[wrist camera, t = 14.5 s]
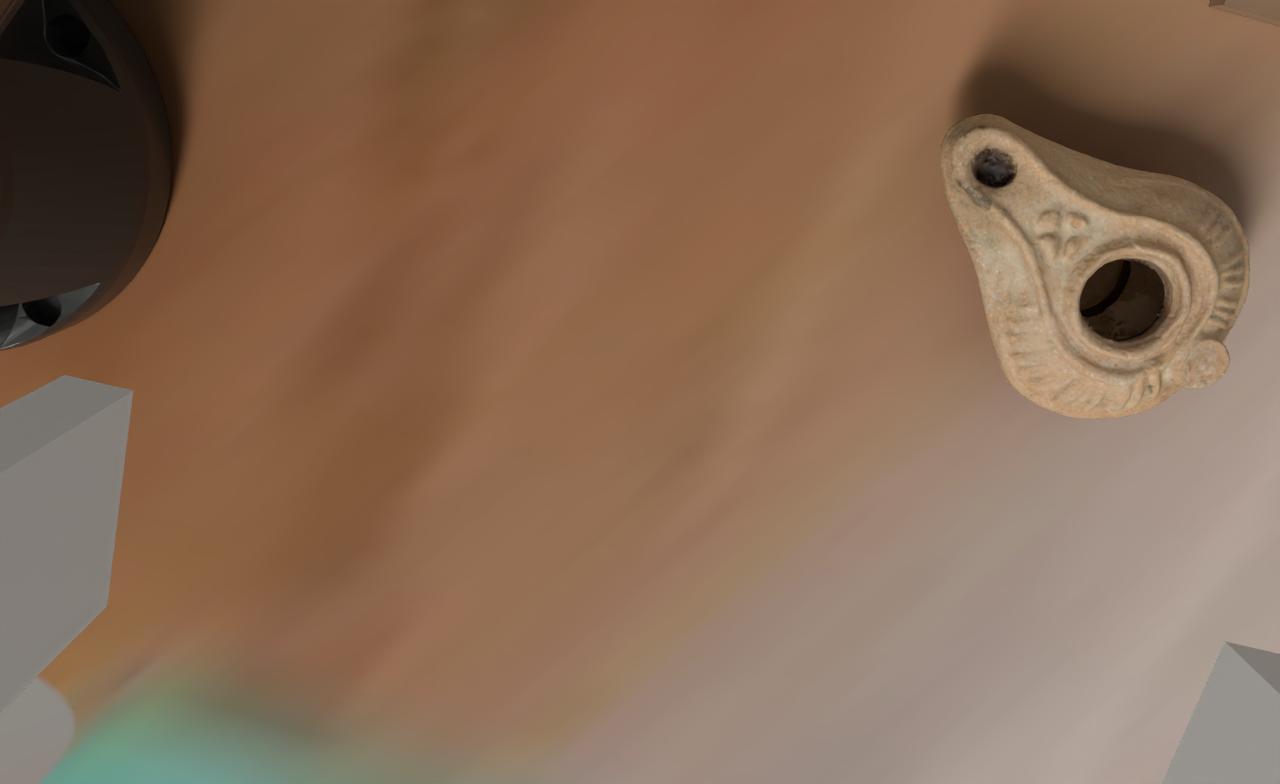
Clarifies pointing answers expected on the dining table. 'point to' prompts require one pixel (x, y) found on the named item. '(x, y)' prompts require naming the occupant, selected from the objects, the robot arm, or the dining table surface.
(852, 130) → the dining table surface
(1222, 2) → the cradle rack
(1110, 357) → the pottery oil lamp
